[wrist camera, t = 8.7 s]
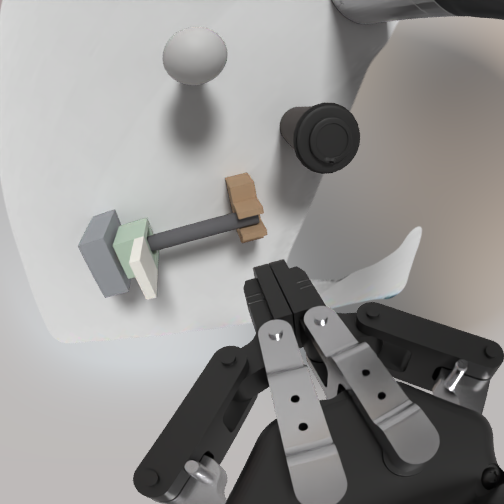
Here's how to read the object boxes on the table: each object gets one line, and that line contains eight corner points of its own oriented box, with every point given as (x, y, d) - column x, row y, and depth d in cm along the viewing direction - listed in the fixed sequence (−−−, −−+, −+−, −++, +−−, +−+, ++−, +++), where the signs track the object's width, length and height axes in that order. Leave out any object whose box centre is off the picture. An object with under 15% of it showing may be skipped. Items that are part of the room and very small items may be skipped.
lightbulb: (156, 71, 30) (147, 66, 21) (184, 30, 28) (186, 9, 19) (199, 93, 33) (207, 97, 24) (227, 54, 31) (245, 42, 22)
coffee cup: (286, 165, 40) (316, 190, 32) (258, 114, 36) (283, 125, 27) (334, 137, 39) (374, 156, 31) (311, 87, 35) (349, 91, 27)
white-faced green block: (147, 217, 37) (139, 260, 29) (159, 249, 40) (156, 297, 31) (119, 226, 37) (104, 270, 28) (132, 257, 39) (123, 305, 31)
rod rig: (247, 172, 39) (262, 193, 33) (256, 224, 44) (271, 253, 37) (88, 218, 37) (72, 247, 31) (109, 264, 42) (99, 299, 35)
